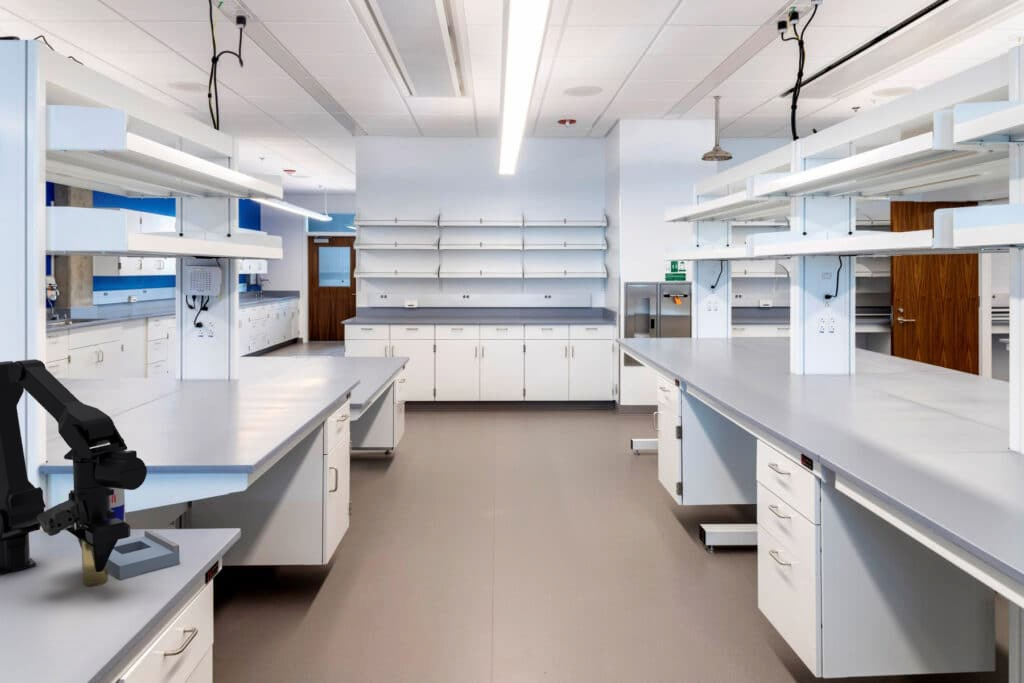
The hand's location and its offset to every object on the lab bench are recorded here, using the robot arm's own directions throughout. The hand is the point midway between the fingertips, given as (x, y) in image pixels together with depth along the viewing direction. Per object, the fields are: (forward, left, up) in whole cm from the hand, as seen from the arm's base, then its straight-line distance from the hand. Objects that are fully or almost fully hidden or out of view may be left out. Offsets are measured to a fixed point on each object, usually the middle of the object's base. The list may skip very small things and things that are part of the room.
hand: (95, 568), depth 137 cm
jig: (-5, +9, -2) cm, 11 cm away
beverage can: (-26, +12, -3) cm, 29 cm away
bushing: (0, 0, -2) cm, 2 cm away
